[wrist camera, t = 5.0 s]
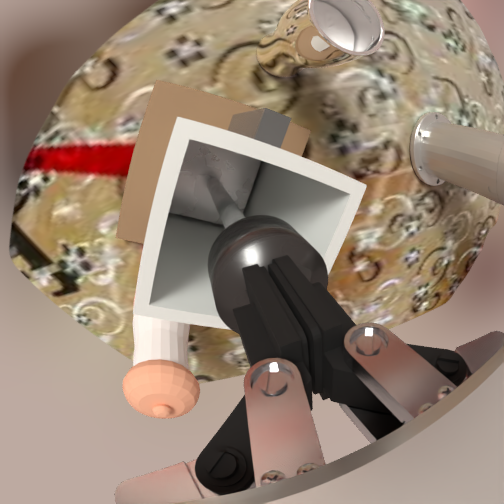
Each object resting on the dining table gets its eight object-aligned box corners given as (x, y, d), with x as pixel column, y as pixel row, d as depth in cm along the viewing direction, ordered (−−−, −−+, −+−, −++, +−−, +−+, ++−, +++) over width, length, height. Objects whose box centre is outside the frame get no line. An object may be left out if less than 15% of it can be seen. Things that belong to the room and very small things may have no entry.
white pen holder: (304, 130, 31) (431, 150, 14) (255, 260, 37) (319, 376, 20) (158, 82, 25) (123, 17, 7) (119, 231, 31) (68, 349, 14)
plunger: (259, 159, 28) (389, 225, 10) (236, 225, 30) (314, 365, 13) (188, 137, 25) (202, 160, 8) (167, 209, 28) (155, 354, 10)
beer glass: (267, 89, 28) (332, 67, 15) (242, 39, 25) (288, -15, 12) (316, 71, 28) (398, 51, 15) (293, 24, 25) (362, -21, 12)
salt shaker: (158, 257, 34) (149, 378, 17) (200, 289, 37) (223, 410, 20) (126, 293, 35) (104, 414, 18) (166, 321, 38) (172, 440, 21)
